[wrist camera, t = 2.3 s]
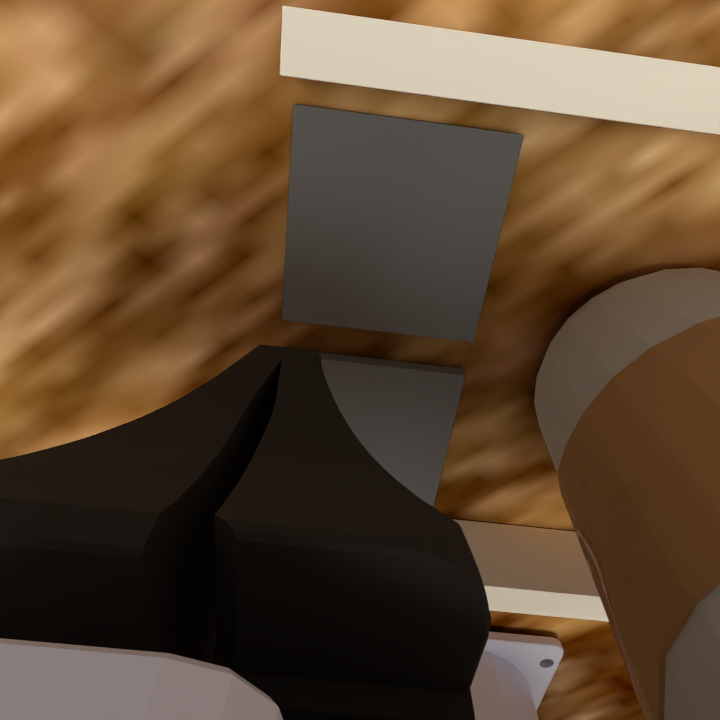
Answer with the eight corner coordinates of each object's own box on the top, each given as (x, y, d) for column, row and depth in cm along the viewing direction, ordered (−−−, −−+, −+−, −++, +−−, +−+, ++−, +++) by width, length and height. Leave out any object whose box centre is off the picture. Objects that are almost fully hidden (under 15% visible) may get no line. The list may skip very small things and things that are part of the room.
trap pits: (429, 504, 17) (431, 514, 16) (273, 489, 16) (272, 497, 16) (519, 133, 12) (524, 134, 11) (295, 104, 11) (293, 103, 11)
